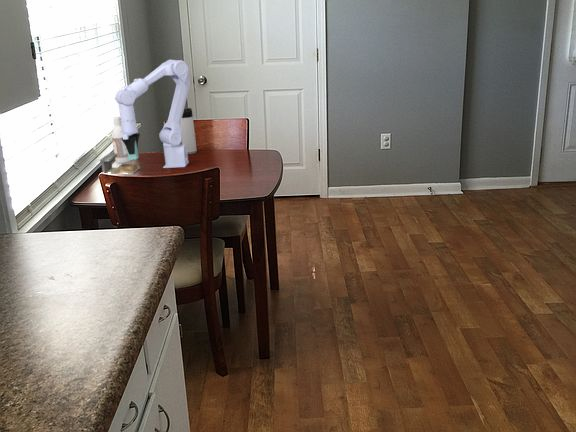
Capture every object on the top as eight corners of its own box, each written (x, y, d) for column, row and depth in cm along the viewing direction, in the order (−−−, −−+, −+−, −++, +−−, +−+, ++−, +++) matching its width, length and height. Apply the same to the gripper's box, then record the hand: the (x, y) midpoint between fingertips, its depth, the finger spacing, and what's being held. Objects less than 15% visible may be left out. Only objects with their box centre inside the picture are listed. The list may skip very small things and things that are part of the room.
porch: (140, 168, 275) (137, 152, 273) (133, 174, 266) (130, 158, 264) (110, 170, 276) (107, 154, 274) (102, 176, 267) (99, 159, 265)
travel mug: (200, 151, 298) (195, 108, 292) (191, 154, 293) (185, 110, 287) (189, 150, 302) (184, 107, 295) (180, 153, 297) (175, 110, 290)
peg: (138, 157, 266) (135, 140, 263) (136, 159, 263) (133, 142, 260) (130, 157, 266) (128, 141, 264) (128, 159, 263) (125, 142, 261)
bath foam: (113, 161, 291) (106, 117, 284) (128, 159, 294) (122, 115, 288) (118, 164, 285) (111, 119, 279) (133, 161, 288) (127, 117, 282)
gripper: (123, 117, 266) (128, 149, 271) (112, 124, 253) (118, 157, 257) (140, 116, 266) (145, 148, 270) (130, 123, 252) (135, 157, 257)
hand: (133, 153), depth 264 cm, fingers closed on peg, 3 cm apart
